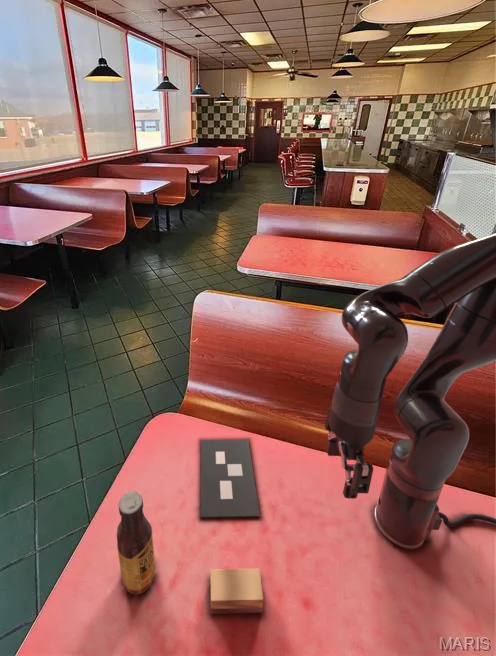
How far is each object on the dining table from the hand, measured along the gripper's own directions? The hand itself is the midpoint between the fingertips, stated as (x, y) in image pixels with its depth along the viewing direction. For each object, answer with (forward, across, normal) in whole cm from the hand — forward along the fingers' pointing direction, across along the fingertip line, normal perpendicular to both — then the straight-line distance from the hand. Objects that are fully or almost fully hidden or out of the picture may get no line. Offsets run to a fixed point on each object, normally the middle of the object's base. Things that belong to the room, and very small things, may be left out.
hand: (340, 473), depth 63 cm
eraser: (+18, -10, +20) cm, 29 cm away
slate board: (+18, +13, +20) cm, 30 cm away
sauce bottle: (+18, -7, +38) cm, 43 cm away
